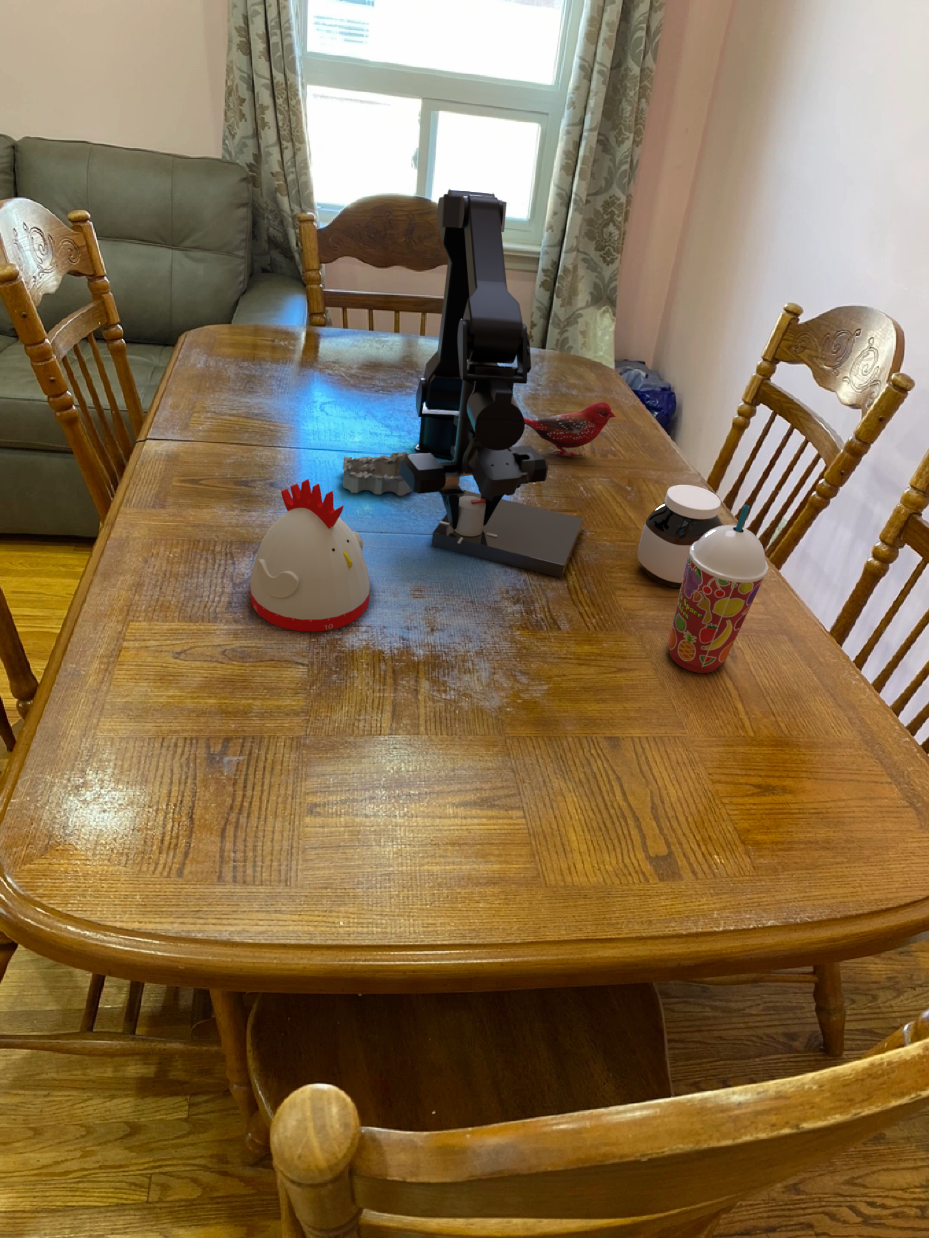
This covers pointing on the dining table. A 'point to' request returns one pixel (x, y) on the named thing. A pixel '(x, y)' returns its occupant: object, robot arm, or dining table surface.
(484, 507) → the stove knob
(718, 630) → the smoothie
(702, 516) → the spread jar
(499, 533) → the stove
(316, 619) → the kitchen timer
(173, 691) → the dining table surface
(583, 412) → the decorative bird figurine
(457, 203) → the robot arm
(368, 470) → the egg carton
